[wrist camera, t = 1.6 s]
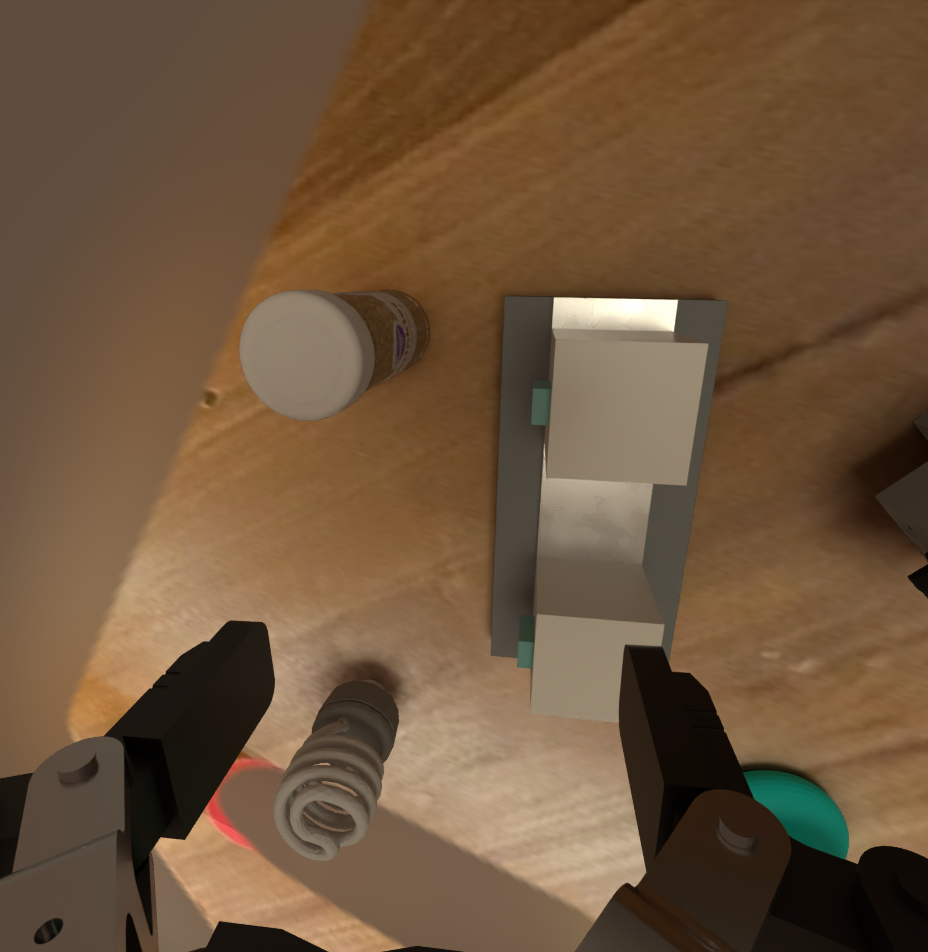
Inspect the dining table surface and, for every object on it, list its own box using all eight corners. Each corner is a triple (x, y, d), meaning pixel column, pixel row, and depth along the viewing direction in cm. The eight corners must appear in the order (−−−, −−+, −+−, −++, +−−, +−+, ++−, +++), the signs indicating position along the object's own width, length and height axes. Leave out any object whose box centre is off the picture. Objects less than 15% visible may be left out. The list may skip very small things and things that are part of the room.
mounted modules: (536, 328, 28) (536, 338, 23) (673, 331, 28) (708, 343, 22) (518, 642, 35) (514, 712, 29) (630, 652, 34) (648, 725, 28)
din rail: (553, 297, 28) (554, 297, 28) (675, 299, 28) (677, 299, 27) (529, 659, 36) (529, 664, 35) (626, 668, 35) (627, 673, 34)
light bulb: (421, 711, 41) (376, 876, 29) (350, 721, 42) (281, 884, 30) (397, 646, 39) (340, 794, 28) (324, 659, 40) (242, 806, 29)
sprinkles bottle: (438, 361, 32) (375, 411, 20) (364, 377, 33) (258, 434, 20) (420, 279, 31) (339, 276, 18) (343, 297, 32) (215, 306, 19)
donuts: (907, 899, 28) (947, 1024, 31) (814, 745, 37) (850, 850, 40) (707, 931, 30) (759, 1045, 33) (667, 779, 40) (710, 876, 42)
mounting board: (506, 295, 31) (504, 296, 29) (715, 299, 29) (727, 300, 27) (493, 637, 38) (490, 655, 36) (660, 651, 37) (667, 671, 35)
